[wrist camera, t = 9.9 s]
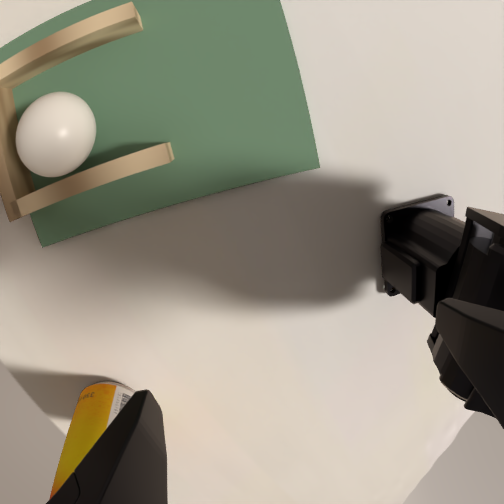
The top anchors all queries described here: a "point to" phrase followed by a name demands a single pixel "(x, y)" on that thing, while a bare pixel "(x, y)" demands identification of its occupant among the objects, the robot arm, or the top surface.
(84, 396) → the orange cylindrical container
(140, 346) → the top surface
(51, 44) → the u-shaped wooden rail
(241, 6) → the putting mat
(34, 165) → the golf ball
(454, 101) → the top surface
